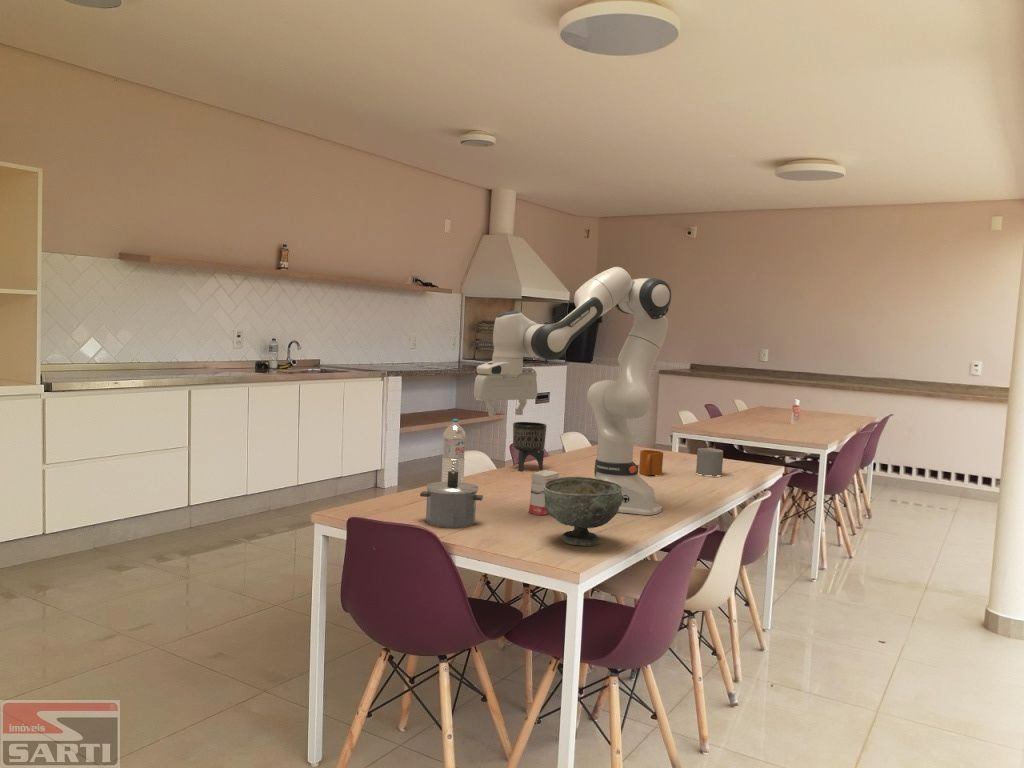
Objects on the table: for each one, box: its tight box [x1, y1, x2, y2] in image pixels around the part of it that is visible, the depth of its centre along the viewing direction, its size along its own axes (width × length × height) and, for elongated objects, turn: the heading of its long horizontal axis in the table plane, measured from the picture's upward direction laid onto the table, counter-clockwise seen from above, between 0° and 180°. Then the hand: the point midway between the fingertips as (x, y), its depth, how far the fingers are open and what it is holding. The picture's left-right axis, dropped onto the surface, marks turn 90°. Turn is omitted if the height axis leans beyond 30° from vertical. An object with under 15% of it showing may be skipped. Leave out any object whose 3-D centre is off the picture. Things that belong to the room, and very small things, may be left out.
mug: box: [638, 449, 664, 477], centre depth 307 cm, size 9×12×9 cm
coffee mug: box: [695, 447, 724, 476], centre depth 314 cm, size 13×10×10 cm
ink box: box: [528, 469, 560, 516], centre depth 232 cm, size 9×5×12 cm, turn 148°
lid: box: [426, 471, 479, 495], centre depth 215 cm, size 14×14×6 cm
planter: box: [512, 421, 547, 472], centre depth 305 cm, size 13×13×18 cm
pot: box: [419, 489, 484, 529], centre depth 215 cm, size 17×13×9 cm
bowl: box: [544, 476, 623, 547], centre depth 201 cm, size 20×19×15 cm
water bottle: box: [440, 418, 467, 482], centre depth 243 cm, size 7×7×25 cm
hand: (505, 415), depth 228 cm, fingers open, 8 cm apart
